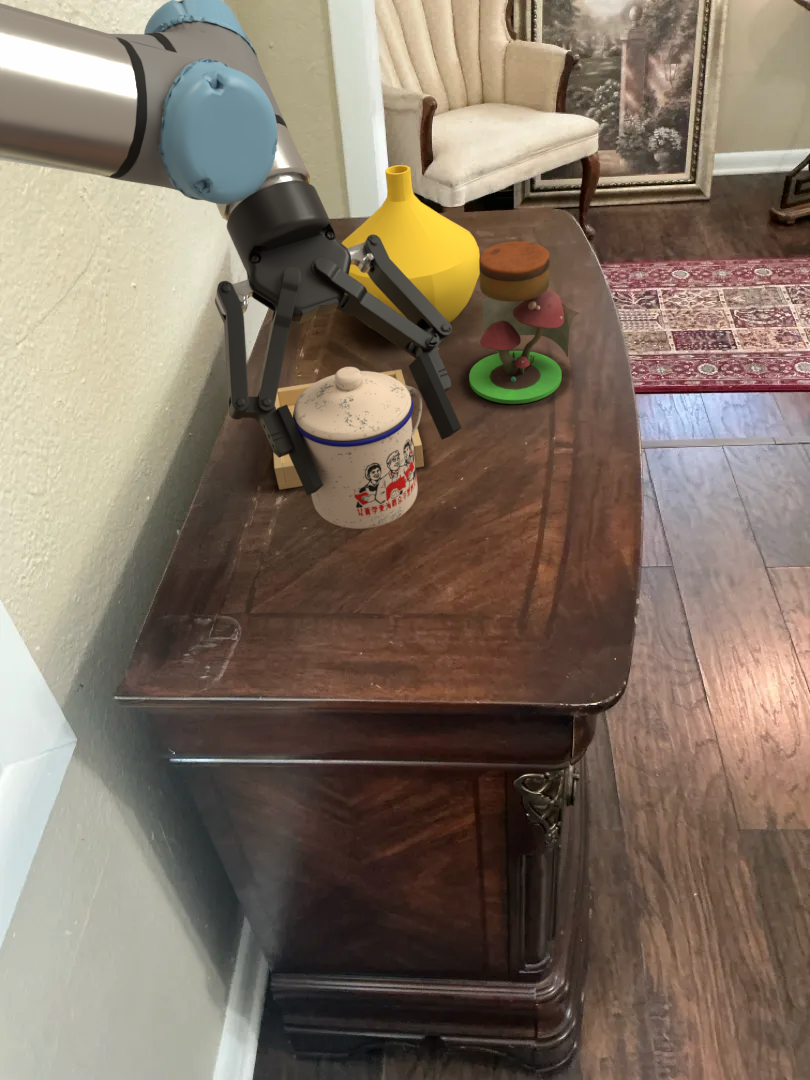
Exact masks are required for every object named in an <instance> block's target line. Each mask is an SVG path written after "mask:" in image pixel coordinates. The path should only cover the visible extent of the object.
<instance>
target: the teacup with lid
mask: <svg viewBox="0 0 810 1080" xmlns="http://www.w3.org/2000/svg"><path fill="white" fill-rule="evenodd" d="M313 383H314V384H312V385H311V386H309V387H308V388H307V389H306V390H305V391H304V392H303V393H302V394H301V395H300V396H299V398H298V399H297V402H296V404H295V407H294V412H293V419H294V421H295V423H296V426H297V428H298V430H299V432H300V434H301V437H302V439H303V441H304V443H305V445H306V448H307V450H308V452H309V454H310V457H311V459H312V461H313V463H314V465H315V468H316V470H317V472H318V474H319V476H320V479H321V481H322V483H323V486H322V487H321V488H320V489H319V490H318V491H317V492H315V493H312V494H310V495H311V499H312V504H313V507H314V509H315V511H316V512H317V514H319V516H320V517H321V518H323V519H324V520H325V521H327V522H328V523H330V524H333V525H335V526H338V527H341V528H346V529H354V530H355V529H356V530H357V529H362V530H363V529H372V528H376V527H377V528H378V527H380V526H384V525H386V524H387V525H388V524H390V523H392V522H394V521H396V520H398V519H399V518H401V517H402V516H403V515H404V514H406V513H407V512H408V510H410V509H411V508H412V506H413V505H414V503H415V501H416V499H417V496H418V490H419V487H418V478H417V477H418V475H417V468H416V464H415V453H414V442H413V435H414V433H415V431H416V429H418V427H419V425H420V422H421V417H422V412H423V400H422V399H423V398H422V395H421V392H420V390H419V389H417V388H415V387H414V386H410V385H408V384H405V385H403V384H402V383H401V382H399V381H398V380H396V379H395V378H393V377H391V376H388V375H385V374H382V373H381V372H376V371H371V370H360V369H359V368H357V367H355V366H345V367H342V368H340V369H338V370H337V371H336V373H335V374H332V375H329V376H326V377H324V378H322V379H320V380H317V381H315V382H313Z"/></svg>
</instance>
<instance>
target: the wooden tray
mask: <svg viewBox="0 0 810 1080" xmlns="http://www.w3.org/2000/svg"><path fill="white" fill-rule="evenodd" d="M380 373H382V374H385V375H388V376H391V377H393V378H395V379H396V380H398V381H399V382H401V383H402V384H403V385H406V381H405V378H404V374H403V370H402V369H394V370H387V371H381V372H380ZM314 383H315V382H312V383H311V382H310V383H303V384H299V385H298V384H297V385H292V386H284V387H278V390H277V396H276V401H275V407H276V409H277V408H279V407H282V406H284V405H287V406H288V408H289V410H290V412H291V414H292V417H293V412H294V407H295V404H296V402H297V399H298V398H299V396H300V395H301V394H302V393H303V392H304V391H305V390H306V389H307V388H308V387H309V386H311V385H312V384H314ZM413 442H414V453H415V464H416V469H418V468H423V467H425V464H424V454H423V453H424V452H423V444H422V440H421V437H420V432H419V429H418V428H417V429H416V431H415V433H414V435H413ZM272 452H273V451H272ZM272 454H273V469H274V473H275V477H276V482H277V486H278V490H279V491H280V490H286V489H293V488H299V487H303V485H302V483H301V480H300V478H299V476H298V474H297V472H296V469H295V467H294V465H293V463H292V460H291V458H290V456H289V454H287V455H285V456H282V457H280V458H279V457H278V456H277V455H276V454H275V453H274V452H273V453H272Z"/></svg>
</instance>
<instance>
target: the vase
mask: <svg viewBox="0 0 810 1080" xmlns="http://www.w3.org/2000/svg"><path fill="white" fill-rule="evenodd" d="M411 171H412V169H411V167H410V166H409V165H407V164H406V165H405V164H398V165H392V166H388V167H387V168H386V169H385V172H384V173H385V181H386V190H387V192H386V198H385V200H384V201H383V203H382V204H381V206H380V207H379V208H377V210H375V211H374V213H372V214H371V215H370V216H369V217H368V218H367V219H366V220H365V221H364V222H363V223H362V224H361V225H360V226H358V228H356V229H355V230H354V231H353V232H352V233H351V234H349V235H348V236H347V237H346V238H344V240H343V241H341V243H342V244H343V245H344V246H345V247H346V248H350V247H352V246H355V245H358V244H361V243H364V242H365V241H366V239H367V238H368V236H369V235H372V234H374V235H377V236H378V237H379V238H380V239H381V241H382V243H383V245H384V248H385V250H386V252H387V254H388V256H389V258H390V259H391V261H392V262H393V263H394V264H395V265H396V266H397V267H398V268H399V269H400V270H401V271H402V272H403V273H404V275H405V276H406V277H407V278H408V279H409V280H410V281H411V282H412V283H413V284H414V285H415V286H416V287H417V289H418V290H419V291H420V292H421V293H422V294H423V295H424V296H425V297H426V298H427V299H428V300H429V301H430V302H431V304H432V305H433V306H434V307H435V308H436V309H437V310H438V311H439V312H440V313H441V314H442V315H443V316H444V318H445V319H446V320H447V321H448V322H449V323H450V324H451V323H452V322H453V321H454V320H455V319H456V318H457V317H458V316H459V315H460V314H461V312H462V311H463V310H464V309H465V307H466V306H467V305H468V303H469V301H470V299H471V297H472V295H473V293H474V290H475V288H476V285H477V282H478V279H479V278H480V269H479V258H480V255H481V254H480V248H479V246H478V243H477V241H476V238H475V237H474V235H473V234H472V233H471V232H470V230H468V229H466V228H464V227H462V226H461V225H459V224H458V223H456V222H454V221H452V220H450V219H449V218H447V217H445V216H444V215H442V214H440V213H438V212H437V211H435V210H434V209H433V208H431V207H430V206H428V205H427V204H425V203H423V202H421V200H420V199H419V198H418V197H417V196H416V195H415V193H414V190H413V182H412V172H411ZM349 275H350V276H351V277H353V278H354V279H356V280H357V281H358V282H360V283H361V284H363V285H364V286H365V287H366V290H367V291H368V292H369V293H370V294H372V295H373V296H375V297H376V298H378V299H379V300H380V301H382V302H383V303H385V304H386V305H388V306H389V307H391V308H392V309H393V310H395V311H396V312H398V313H399V314H401V315H402V316H404V315H403V314H402V313H401V311H400V310H399V309H398V308H397V307H396V306H395V305H394V304H393V303H392V302H391V301H390V300H389V299H388V298H387V297H386V295H385V294H384V293H383V292H382V291H381V290H380V289H379V288H378V287H377V286H376V285H375V284H374V282H373V281H372V280H371V278H370V277H369V275H368V273H362V272H361V271H360V269H359V268H358V267H357V266H356V265H352V264H351V265H350V270H349ZM346 295H347V294H346ZM404 317H405V316H404ZM405 318H406V317H405ZM406 319H407V318H406ZM367 327H368V328H370V327H369V326H367Z"/></svg>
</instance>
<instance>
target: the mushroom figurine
mask: <svg viewBox="0 0 810 1080" xmlns="http://www.w3.org/2000/svg"><path fill="white" fill-rule="evenodd" d="M550 261H551V260H550V252H549V251H548V249H546V248H545V247H544V246H542V245H540V244H537V243H534V242H530V241H522V240H521V241H506V242H500V243H497V244H494V245H492V246H489V247H488V248H486V249H484V251H482V252H481V254H480V258H479V269H480V275H479V289H480V291H481V293H482V294H483V295H484V296H486V297H485V298H483V299H481V306H482V309H481V310H482V311H481V312H482V319H483V327H482V328H483V330H482V336H481V337H480V338H481V339H480V340H479V344H480V346H481V347H482V348H485V349H489V350H494V351H497V353H493V354H491V355H487V356H486V357H483V358H482V359H480V360H478V361H477V362H476V363H475V364H474V365H473V366H472V367H471V369H470V371H469V373H468V374H469V375H468V381H469V386H470V388H471V389H472V391H473V392H474V393H475V394H476V395H478V396H479V397H481V398H482V399H485V400H487V401H491V402H495V403H498V404H507V405H520V404H529V403H532V402H536V401H539V400H542V399H545V398H546V397H548V396H550V395H552V394H553V393H554V392H555V391H557V389H558V388H559V387H560V386H561V382H562V376H563V375H562V373H563V372H562V369H561V367H560V365H559V364H558V363H557V362H556V361H555V360H554V359H553V358H551V357H549V356H547V355H544V354H542V353H539V352H534V351H532V348H533V346H534V345H536V344H537V343H538V342H539V340H540V339H541V338H542V337H544V338H548V339H550V340H552V341H553V342H554V343H555V344H557V345H558V346H559V348H561V350H562V351H563V352H564V354H565V356H566V357H567V358H569V338H570V329H571V325H572V323H573V321H574V318H575V317H576V316H578V315H580V312H578V311H576V310H573V309H572V308H570V307H567V306H566V305H565V304H563V302H562V299H561V298H560V296H559V294H557V293H556V292H554V291H552V290H551V289H549V287H550ZM521 336H533V337H532V339H531V340H529V341H528V342H527V343H526V345H525V346H524V348H523V350H513V349H515V348H517V347H518V346H519V345H520V344H521V342H522V340H521Z"/></svg>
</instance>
